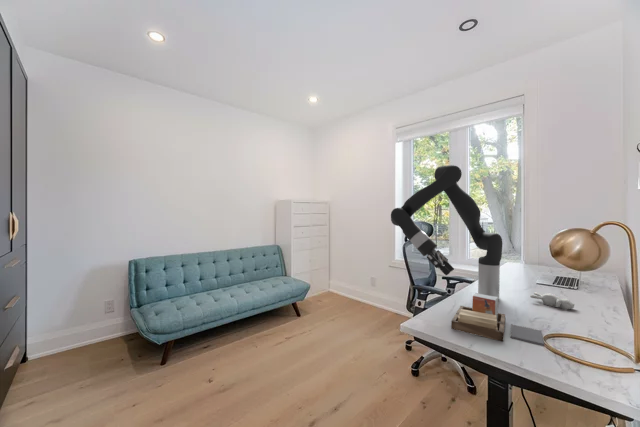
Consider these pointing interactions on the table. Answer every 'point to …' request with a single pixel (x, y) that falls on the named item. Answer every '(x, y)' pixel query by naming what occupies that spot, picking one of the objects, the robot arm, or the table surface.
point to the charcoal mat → (527, 334)
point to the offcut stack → (478, 319)
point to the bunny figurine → (554, 300)
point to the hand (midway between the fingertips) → (450, 272)
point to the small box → (485, 304)
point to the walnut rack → (478, 329)
